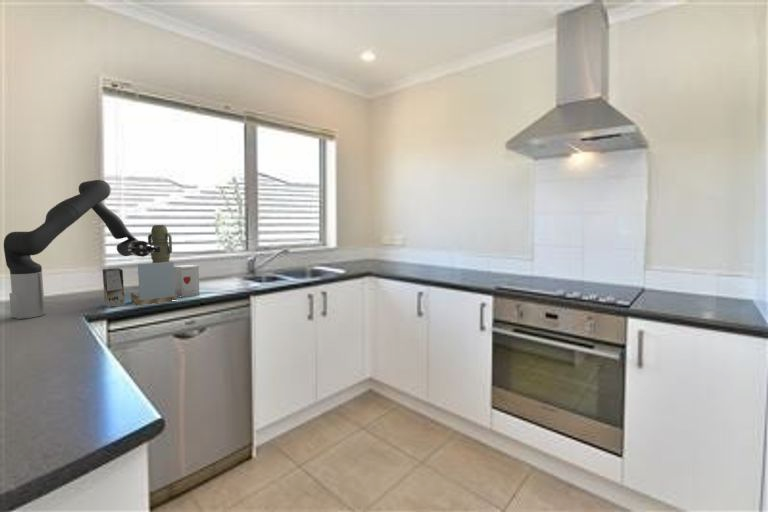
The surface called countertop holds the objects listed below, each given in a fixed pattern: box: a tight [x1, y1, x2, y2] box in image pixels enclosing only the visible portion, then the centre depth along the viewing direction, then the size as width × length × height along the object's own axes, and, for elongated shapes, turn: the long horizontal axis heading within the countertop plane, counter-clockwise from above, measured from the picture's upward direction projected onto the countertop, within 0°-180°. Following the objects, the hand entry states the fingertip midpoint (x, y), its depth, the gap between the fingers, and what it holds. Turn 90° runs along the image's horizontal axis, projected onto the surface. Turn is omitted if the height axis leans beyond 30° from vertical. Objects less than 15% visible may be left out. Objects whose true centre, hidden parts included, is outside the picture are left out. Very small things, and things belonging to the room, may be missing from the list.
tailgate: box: [137, 261, 175, 300], centre depth 176 cm, size 14×1×16 cm, turn 133°
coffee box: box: [102, 267, 125, 308], centre depth 174 cm, size 9×6×16 cm
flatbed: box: [130, 291, 178, 306], centre depth 182 cm, size 16×12×4 cm
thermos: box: [147, 224, 173, 263], centre depth 209 cm, size 9×12×35 cm
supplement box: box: [174, 264, 200, 298], centre depth 197 cm, size 9×9×15 cm
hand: (151, 250), depth 179 cm, fingers open, 4 cm apart
